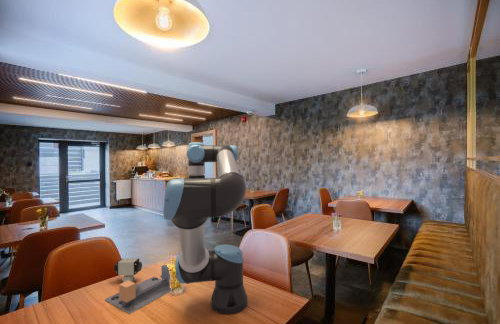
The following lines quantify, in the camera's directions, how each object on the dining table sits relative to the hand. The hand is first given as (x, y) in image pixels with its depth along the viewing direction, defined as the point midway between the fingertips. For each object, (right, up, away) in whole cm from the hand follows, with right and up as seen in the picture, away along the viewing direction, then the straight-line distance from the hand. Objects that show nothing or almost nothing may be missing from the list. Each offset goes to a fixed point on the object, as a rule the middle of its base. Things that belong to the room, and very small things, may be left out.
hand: (197, 223), depth 118 cm
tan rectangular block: (-26, -29, -16) cm, 42 cm away
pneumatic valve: (-35, -30, +4) cm, 46 cm away
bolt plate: (-23, -30, -7) cm, 38 cm away
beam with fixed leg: (-21, -29, -8) cm, 37 cm away
